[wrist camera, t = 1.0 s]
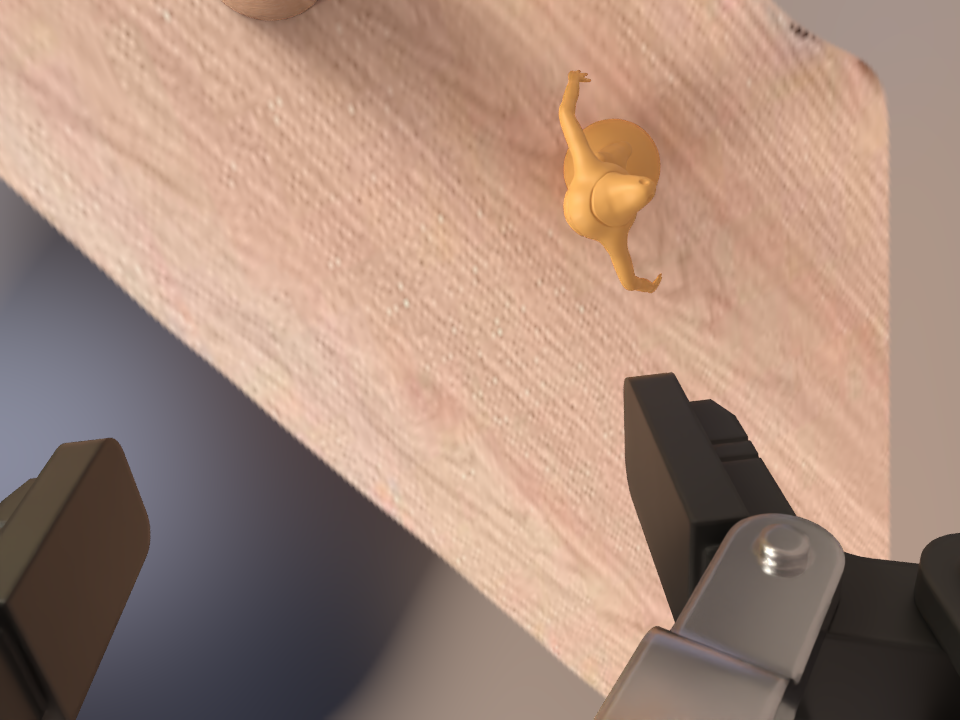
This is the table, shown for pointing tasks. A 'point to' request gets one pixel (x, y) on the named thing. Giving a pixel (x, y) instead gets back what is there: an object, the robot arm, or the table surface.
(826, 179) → the table surface
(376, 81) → the table surface
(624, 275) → the figurine
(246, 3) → the canister
